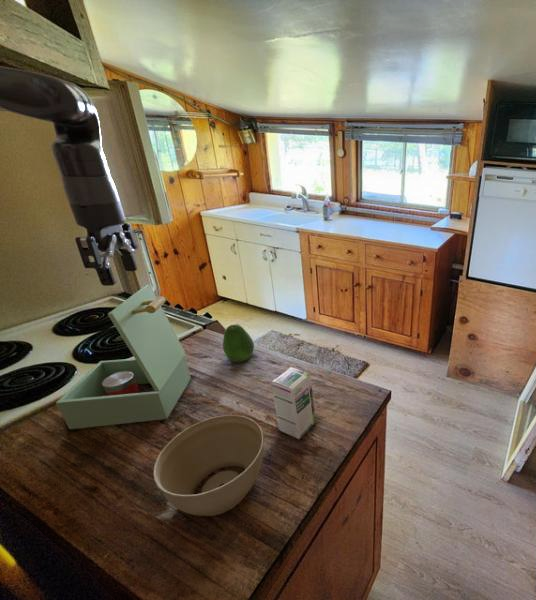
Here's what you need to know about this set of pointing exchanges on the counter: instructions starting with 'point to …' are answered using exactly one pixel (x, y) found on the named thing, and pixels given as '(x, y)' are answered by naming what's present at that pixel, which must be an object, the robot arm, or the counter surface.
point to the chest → (120, 397)
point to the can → (120, 384)
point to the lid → (148, 335)
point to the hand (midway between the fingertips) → (121, 277)
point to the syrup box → (294, 402)
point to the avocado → (237, 343)
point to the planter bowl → (210, 464)
